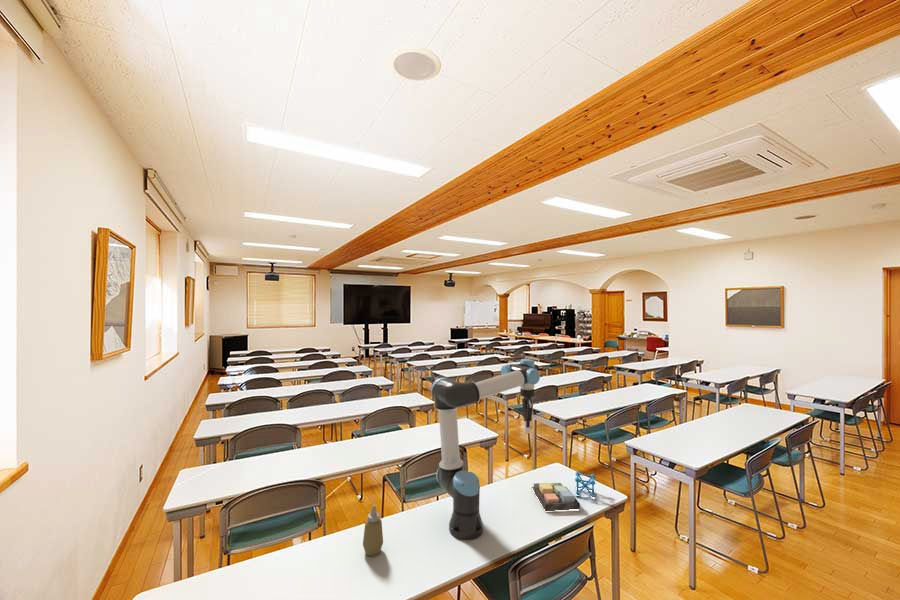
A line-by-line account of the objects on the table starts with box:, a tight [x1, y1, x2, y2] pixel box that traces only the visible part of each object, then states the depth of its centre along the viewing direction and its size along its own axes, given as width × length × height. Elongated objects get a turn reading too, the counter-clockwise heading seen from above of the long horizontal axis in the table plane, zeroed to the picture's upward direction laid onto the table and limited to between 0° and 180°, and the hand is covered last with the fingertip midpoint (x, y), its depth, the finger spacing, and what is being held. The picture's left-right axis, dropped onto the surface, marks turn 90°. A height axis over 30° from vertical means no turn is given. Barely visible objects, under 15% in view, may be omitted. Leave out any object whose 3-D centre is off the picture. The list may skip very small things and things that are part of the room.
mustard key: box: [539, 482, 553, 495], centre depth 189 cm, size 6×6×3 cm
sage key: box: [554, 485, 569, 494], centre depth 189 cm, size 6×6×3 cm
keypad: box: [531, 482, 581, 512], centre depth 188 cm, size 17×23×4 cm
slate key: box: [560, 489, 576, 502], centre depth 181 cm, size 6×6×3 cm
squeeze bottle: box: [362, 504, 384, 557], centre depth 146 cm, size 8×8×18 cm
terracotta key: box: [544, 493, 559, 503], centre depth 181 cm, size 6×6×3 cm
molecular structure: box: [574, 471, 596, 498], centre depth 194 cm, size 10×10×10 cm
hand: (527, 432), depth 195 cm, fingers closed
